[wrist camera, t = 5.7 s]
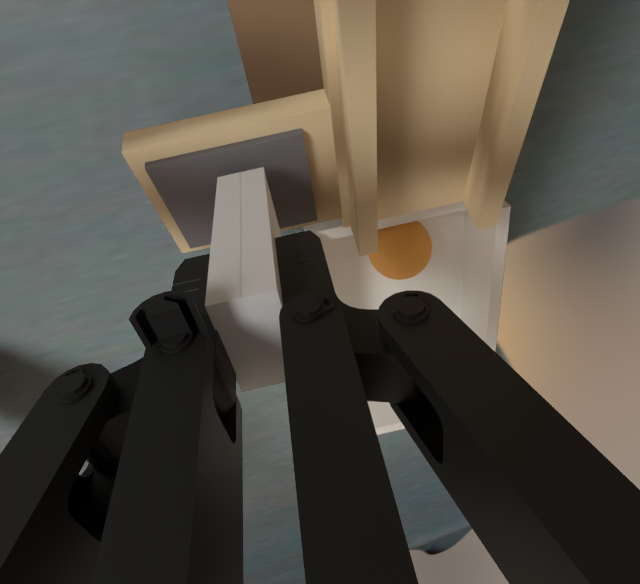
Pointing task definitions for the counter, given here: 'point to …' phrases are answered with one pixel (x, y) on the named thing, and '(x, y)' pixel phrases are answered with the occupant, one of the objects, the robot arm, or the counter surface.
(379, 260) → the ball
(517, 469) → the robot arm
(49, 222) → the counter surface
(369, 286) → the white open box
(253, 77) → the stand
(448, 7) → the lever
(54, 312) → the counter surface
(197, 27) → the counter surface
